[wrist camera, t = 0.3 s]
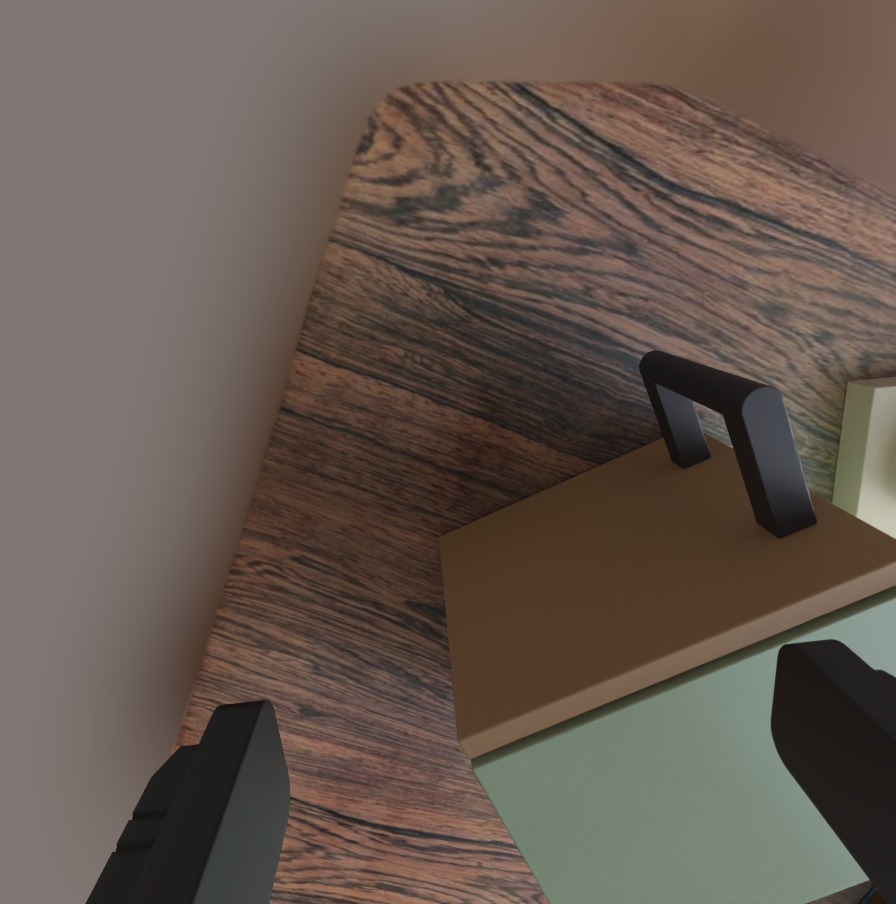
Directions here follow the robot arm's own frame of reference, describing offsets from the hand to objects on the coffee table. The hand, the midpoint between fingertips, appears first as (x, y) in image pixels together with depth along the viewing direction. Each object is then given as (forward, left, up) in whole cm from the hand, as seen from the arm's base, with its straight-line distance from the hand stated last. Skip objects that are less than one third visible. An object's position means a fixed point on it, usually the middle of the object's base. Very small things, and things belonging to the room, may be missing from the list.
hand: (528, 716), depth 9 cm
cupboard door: (+4, +6, -26) cm, 27 cm away
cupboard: (+14, +9, -26) cm, 31 cm away
